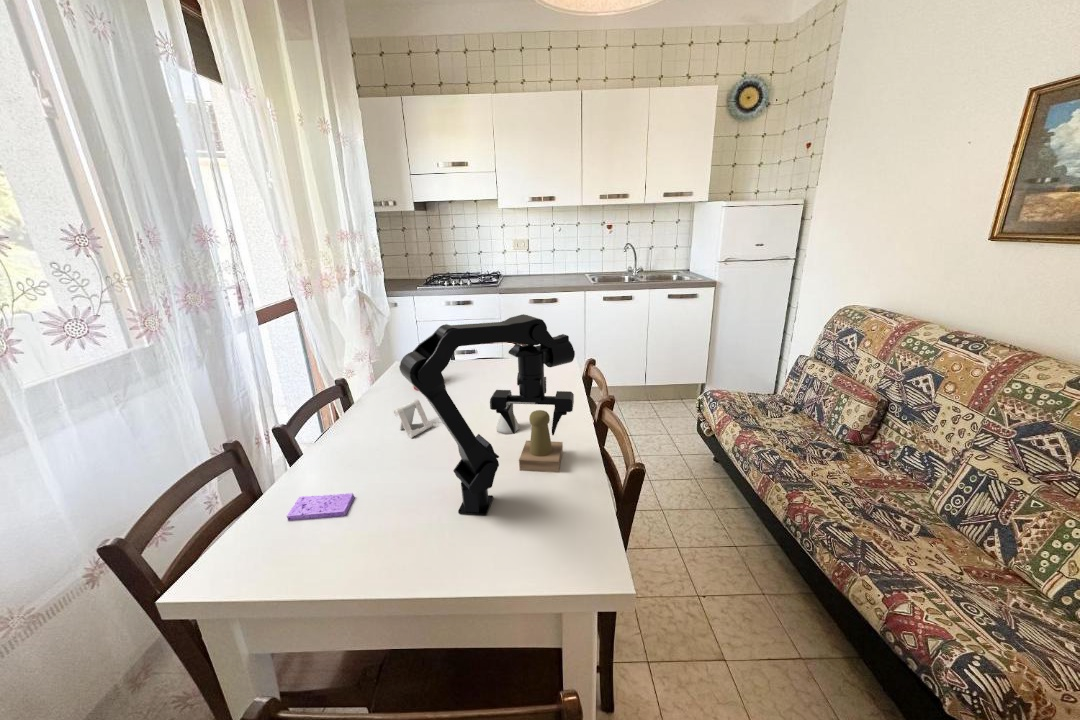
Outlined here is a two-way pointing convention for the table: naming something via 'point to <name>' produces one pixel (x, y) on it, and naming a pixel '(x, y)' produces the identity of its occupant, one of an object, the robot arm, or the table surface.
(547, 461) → the walnut block
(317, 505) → the sponges
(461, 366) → the table surface
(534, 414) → the olive pawn
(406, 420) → the portable electronic device stand
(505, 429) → the flask
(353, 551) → the table surface
